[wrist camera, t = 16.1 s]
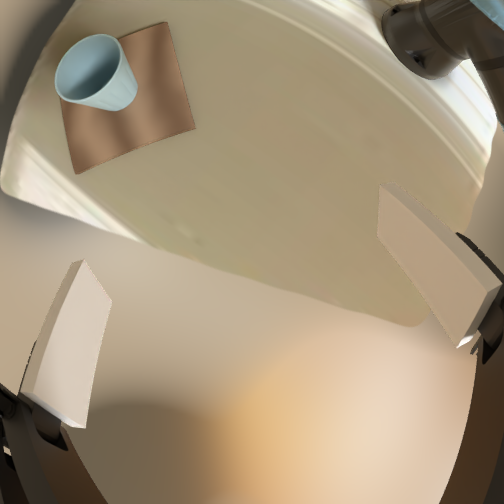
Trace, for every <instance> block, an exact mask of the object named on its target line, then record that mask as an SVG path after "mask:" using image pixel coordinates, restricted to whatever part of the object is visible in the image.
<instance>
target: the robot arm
mask: <svg viewBox="0 0 504 504" xmlns="http://www.w3.org/2000/svg"><path fill="white" fill-rule="evenodd" d="M382 28H383V32H384V35H385V38H386V40H387V42H388V44H389V46H390V47H391V49H392V51H393V52H394V53H395V55H396V56H397V57H398V58H399V60H400V61H401V62H402V63H403V64H404V65H405V66H406V67H407V68H409V69H410V70H411V71H412V72H414V73H415V74H417V75H419V76H421V77H423V78H426V79H430V80H434V79H438V78H442V77H445V76H446V75H448V74H449V73H450V72H451V71H452V70H453V69H454V68H455V67H456V66H457V65H459V64H460V63H461V62H462V61H463V60H466V59H471V61H472V62H473V64H474V66H475V68H476V70H477V72H478V74H479V76H480V78H481V80H482V82H483V84H484V86H485V88H486V90H487V93H488V95H489V97H490V99H491V102H492V104H493V106H494V109H495V111H496V117H497V120H498V121H499V123H500V124H501V127H502V129H503V132H504V0H421V1H415V2H409V3H403V4H398V5H395V6H393V7H391V8H390V9H389V10H387V11H386V12H385V13H384V15H383V18H382ZM377 238H378V239H379V240H380V242H381V243H382V244H383V245H384V247H385V248H386V249H387V250H388V252H389V253H390V254H391V255H392V257H393V258H394V259H395V260H396V262H397V263H398V264H399V266H400V267H401V268H402V270H403V271H404V272H405V274H406V275H407V276H408V278H409V279H410V280H411V282H412V283H413V284H414V286H415V287H416V288H417V290H418V291H419V293H420V294H421V295H422V297H423V298H424V300H425V301H426V303H427V304H428V305H429V307H430V308H431V310H432V311H433V313H434V314H435V316H436V317H437V319H438V320H439V322H440V323H441V325H442V327H443V328H444V330H445V331H446V333H447V334H448V336H449V337H450V339H451V341H452V342H453V344H454V346H455V347H456V348H458V347H460V346H461V345H463V344H465V343H467V342H468V341H470V340H471V339H472V337H473V336H474V334H475V333H476V331H477V329H478V330H479V332H480V333H481V336H480V337H479V339H478V341H477V342H476V344H475V345H474V346H473V348H472V350H471V353H470V354H473V353H474V352H475V351H476V349H477V348H478V352H477V354H476V355H477V365H476V373H475V381H474V387H473V394H472V399H471V405H470V410H469V414H468V420H467V423H466V427H465V431H464V435H463V439H462V443H461V446H460V450H459V453H458V456H457V459H456V462H455V465H454V468H453V471H452V474H451V476H450V479H449V482H448V484H447V487H446V489H445V491H444V494H443V496H442V498H441V501H440V503H439V504H504V275H503V273H501V271H500V270H499V269H498V268H497V267H496V266H495V265H494V264H493V262H492V261H491V260H490V259H489V258H488V257H485V254H484V253H483V252H482V251H481V250H480V249H478V247H477V246H476V245H475V244H474V243H473V242H472V241H471V240H470V239H468V238H467V237H465V236H463V235H462V234H460V233H458V232H457V233H454V232H453V231H452V230H451V229H450V228H449V227H448V226H447V225H445V224H444V223H443V222H442V221H441V220H440V219H439V218H438V217H437V216H435V215H434V214H433V213H432V212H431V211H430V210H428V209H427V208H426V207H425V206H424V205H423V204H421V203H420V202H419V201H418V200H417V199H415V198H414V197H413V196H412V195H410V194H409V193H408V192H407V191H405V190H404V189H403V188H402V187H400V186H399V185H398V184H396V183H395V182H389V183H384V184H380V185H379V214H378V230H377ZM111 305H112V301H111V299H110V298H109V296H108V295H107V293H106V292H105V291H104V289H103V288H102V286H101V285H100V283H99V282H98V280H97V279H96V277H95V276H94V274H93V272H92V271H91V269H90V268H89V266H88V265H87V263H86V261H85V260H84V259H83V260H80V261H77V262H74V263H72V264H71V266H70V268H69V270H68V272H67V274H66V276H65V278H64V280H63V282H62V284H61V286H60V288H59V290H58V292H57V294H56V296H55V298H54V301H53V303H52V305H51V307H50V309H49V312H48V314H47V316H46V319H45V321H44V323H43V326H42V328H41V331H40V333H39V336H38V338H37V340H36V342H35V343H34V346H33V348H32V351H31V356H30V357H29V360H28V364H27V366H26V369H25V372H24V375H23V378H22V382H21V385H20V389H19V392H18V395H17V396H16V395H15V394H13V393H12V392H11V391H9V390H8V389H7V388H6V387H4V386H3V385H2V384H1V383H0V504H108V503H107V502H106V500H105V499H104V497H103V496H102V494H101V493H100V491H99V490H98V488H97V486H96V485H95V483H94V482H93V480H92V478H91V477H90V475H89V473H88V472H87V470H86V468H85V466H84V465H83V463H82V461H81V459H80V457H79V456H78V454H77V452H76V450H75V448H74V446H73V444H72V442H71V440H70V438H69V436H68V434H67V431H66V430H65V429H64V428H63V427H62V426H61V420H62V421H63V422H65V423H66V424H68V425H70V426H71V427H80V428H86V420H87V414H88V407H89V401H90V395H91V389H92V384H93V379H94V374H95V369H96V364H97V359H98V355H99V350H100V346H101V342H102V338H103V334H104V330H105V326H106V323H107V319H108V315H109V312H110V308H111ZM3 446H5V447H7V448H8V449H10V452H11V455H12V456H10V455H8V454H7V453H5V452H4V448H3Z"/></svg>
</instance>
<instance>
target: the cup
mask: <svg viewBox="0 0 504 504" xmlns="http://www.w3.org/2000/svg"><path fill="white" fill-rule="evenodd" d="M55 88H56V91H57V93H58V94H59V96H60V97H61V98H62V99H64V100H66V101H68V102H73V103H77V104H82V105H87V106H91V107H95V108H100V109H104V110H108V111H118V110H121V109H124V108H125V107H127V106H128V105H129V104H130V103H131V102H132V101H133V100H134V98H135V96H136V94H137V88H138V84H137V81H136V79H135V77H134V75H133V72H132V70H131V68H130V66H129V63H128V61H127V59H126V57H125V54H124V51H123V49H122V47H121V45H120V43H119V41H118V40H117V39H116V38H114V37H113V36H110V35H107V34H96V35H91V36H88V37H86V38H84V39H82V40H80V41H79V42H77V43H76V44H74V45H73V46H72V47H71V48H70V49H69V50H68V51H67V52H66V53H65V55H64V56H63V57H62V59H61V61H60V63H59V65H58V67H57V70H56V73H55Z"/></svg>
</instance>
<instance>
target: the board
mask: <svg viewBox="0 0 504 504" xmlns="http://www.w3.org/2000/svg"><path fill="white" fill-rule="evenodd" d="M118 41H119V43H120V45H121V47H122V49H123V51H124V54H125V57H126V59H127V61H128V63H129V66H130V68H131V70H132V72H133V75H134V77H135V79H136V81H137V84H138V88H137V94H136V96H135V98H134V100H133V101H132V102H131V103H130V104H129V105H128V106H127V107H125V108H124V109H121V110H118V111H108V110H104V109H100V108H95V107H91V106H87V105H82V104H77V103H73V102H68V101H66V100H64V99H62V98H61V97H60V98H61V105H62V112H63V118H64V124H65V130H66V135H67V140H68V145H69V150H70V154H71V159H72V163H73V167H74V171H75V174H80V173H82V172H84V171H86V170H89V169H91V168H93V167H95V166H97V165H99V164H102V163H104V162H106V161H108V160H111V159H113V158H115V157H118V156H120V155H123V154H125V153H128V152H130V151H133V150H135V149H138V148H140V147H143V146H146V145H148V144H151V143H154V142H156V141H159V140H162V139H165V138H168V137H171V136H174V135H177V134H180V133H183V132H186V131H189V130H193V129H196V128H195V125H194V121H193V117H192V114H191V110H190V106H189V103H188V99H187V95H186V92H185V88H184V84H183V81H182V77H181V73H180V69H179V65H178V62H177V58H176V54H175V50H174V46H173V42H172V38H171V34H170V30H169V26H168V23H167V22H165V23H162V24H159V25H155V26H152V27H149V28H147V29H144V30H141V31H138V32H136V33H133V34H130V35H128V36H125V37H123V38H120V39H118Z"/></svg>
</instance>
